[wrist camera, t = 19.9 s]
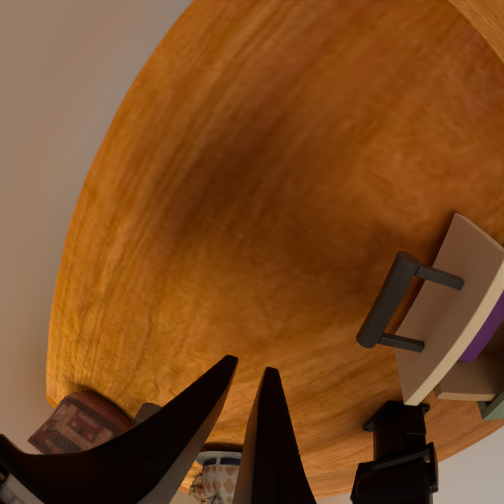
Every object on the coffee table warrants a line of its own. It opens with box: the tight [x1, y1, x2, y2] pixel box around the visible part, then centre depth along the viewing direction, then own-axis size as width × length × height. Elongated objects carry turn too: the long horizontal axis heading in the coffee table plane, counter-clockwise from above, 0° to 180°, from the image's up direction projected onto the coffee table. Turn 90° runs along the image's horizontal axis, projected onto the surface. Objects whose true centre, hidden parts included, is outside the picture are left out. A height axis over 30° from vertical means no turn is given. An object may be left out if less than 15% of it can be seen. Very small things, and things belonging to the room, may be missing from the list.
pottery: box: [28, 392, 132, 454], centre depth 35 cm, size 18×18×18 cm
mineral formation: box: [189, 476, 208, 504], centre depth 47 cm, size 8×13×15 cm
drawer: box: [356, 213, 504, 406], centre depth 14 cm, size 18×11×7 cm, turn 79°
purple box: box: [458, 290, 504, 362], centre depth 15 cm, size 8×4×2 cm, turn 169°
